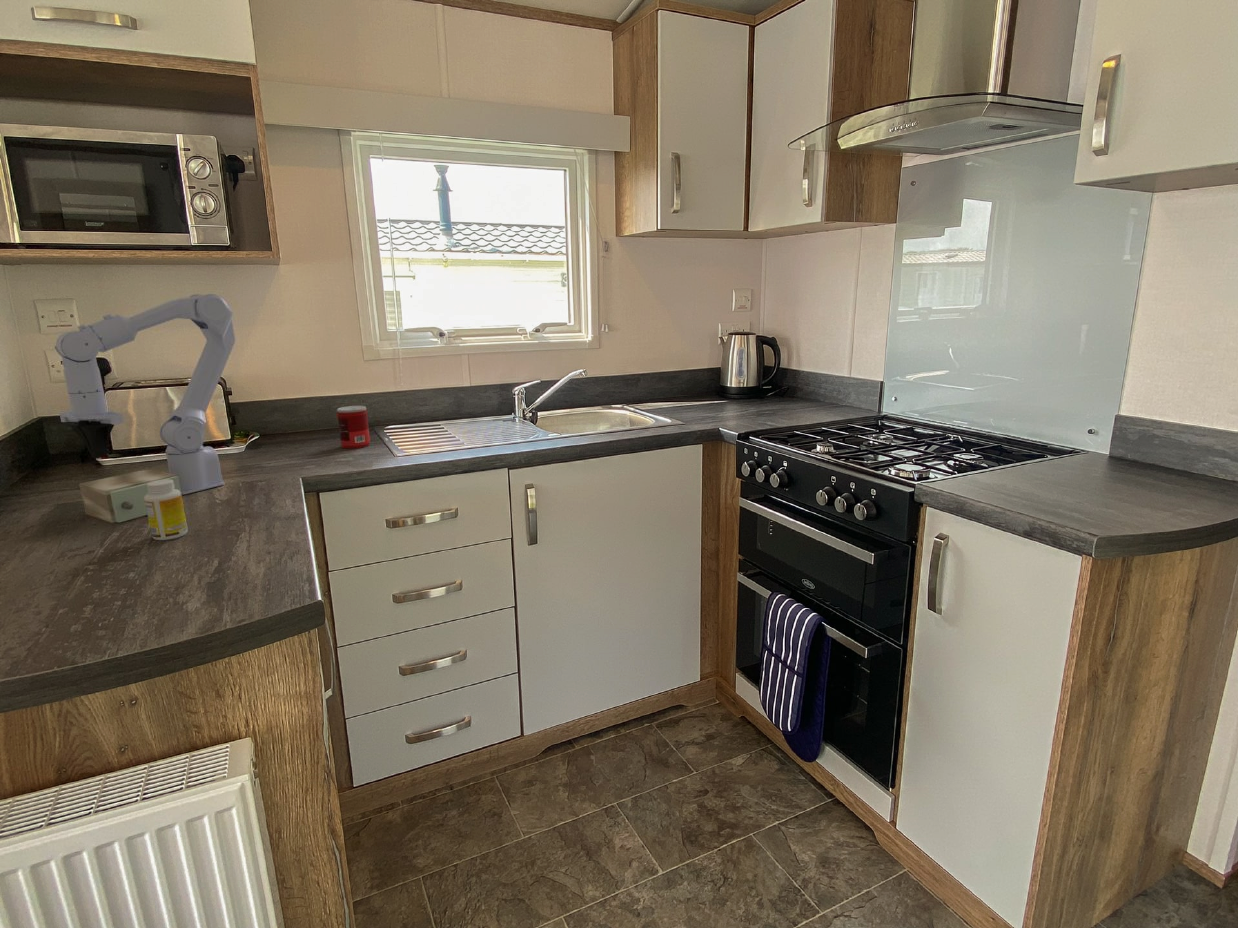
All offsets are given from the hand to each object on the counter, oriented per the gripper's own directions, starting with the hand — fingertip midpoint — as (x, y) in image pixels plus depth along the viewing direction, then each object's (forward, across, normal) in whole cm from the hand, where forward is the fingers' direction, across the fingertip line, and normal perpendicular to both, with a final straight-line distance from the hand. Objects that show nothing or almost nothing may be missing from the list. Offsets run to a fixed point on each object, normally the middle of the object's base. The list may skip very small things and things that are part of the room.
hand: (99, 457), depth 141 cm
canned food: (+10, +16, +60) cm, 63 cm away
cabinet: (+10, +8, -1) cm, 13 cm away
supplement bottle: (+11, +30, -12) cm, 34 cm away
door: (+10, +15, -3) cm, 18 cm away
